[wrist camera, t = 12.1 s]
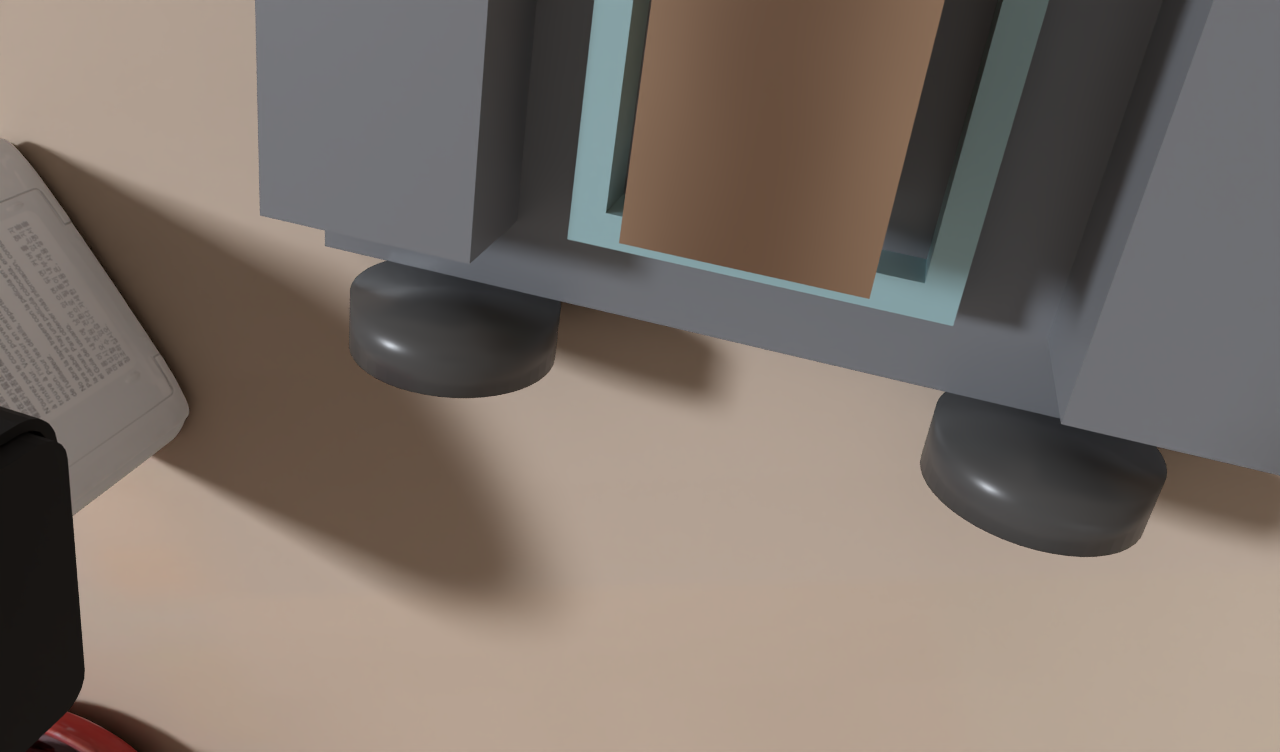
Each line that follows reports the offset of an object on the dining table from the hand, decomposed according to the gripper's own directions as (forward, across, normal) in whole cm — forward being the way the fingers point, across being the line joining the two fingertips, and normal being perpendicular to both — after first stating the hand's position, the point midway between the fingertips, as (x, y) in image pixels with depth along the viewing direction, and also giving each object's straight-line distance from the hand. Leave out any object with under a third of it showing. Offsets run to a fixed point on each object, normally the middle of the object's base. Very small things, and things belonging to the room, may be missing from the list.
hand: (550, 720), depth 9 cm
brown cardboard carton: (+18, +1, -3) cm, 18 cm away
